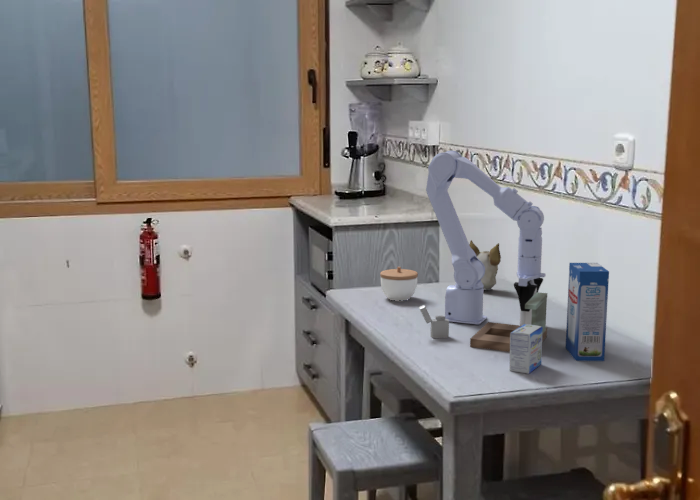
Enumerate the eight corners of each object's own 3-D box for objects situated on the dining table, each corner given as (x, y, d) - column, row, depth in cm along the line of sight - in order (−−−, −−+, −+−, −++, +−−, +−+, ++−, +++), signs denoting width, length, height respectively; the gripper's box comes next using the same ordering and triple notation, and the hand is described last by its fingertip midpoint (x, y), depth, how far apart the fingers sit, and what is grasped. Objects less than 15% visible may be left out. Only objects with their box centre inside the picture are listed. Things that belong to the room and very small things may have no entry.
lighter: (447, 335, 201) (447, 303, 200) (448, 337, 200) (449, 305, 198) (418, 337, 200) (418, 304, 199) (419, 339, 199) (420, 306, 197)
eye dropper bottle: (543, 328, 208) (544, 281, 206) (520, 327, 208) (522, 281, 206) (540, 323, 212) (541, 277, 210) (518, 323, 213) (519, 277, 211)
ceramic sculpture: (508, 290, 250) (510, 240, 247) (494, 295, 243) (496, 244, 241) (477, 285, 257) (478, 237, 254) (463, 290, 250) (464, 241, 247)
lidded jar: (420, 295, 243) (420, 264, 241) (414, 304, 233) (414, 271, 231) (383, 293, 246) (384, 262, 244) (376, 302, 235) (376, 269, 234)
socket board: (470, 347, 192) (471, 300, 190) (487, 329, 207) (489, 286, 205) (532, 354, 186) (534, 306, 184) (546, 336, 201) (548, 292, 199)
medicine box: (528, 375, 173) (530, 334, 171) (508, 371, 175) (509, 331, 173) (541, 364, 179) (543, 326, 178) (522, 361, 182) (523, 323, 180)
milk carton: (565, 347, 192) (569, 262, 188) (592, 347, 191) (597, 262, 188) (575, 360, 182) (580, 271, 178) (604, 361, 182) (609, 271, 178)
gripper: (539, 261, 199) (537, 316, 202) (551, 251, 212) (549, 303, 215) (510, 259, 202) (509, 313, 204) (523, 250, 215) (522, 301, 217)
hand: (527, 308), depth 210 cm, fingers closed on eye dropper bottle, 5 cm apart
